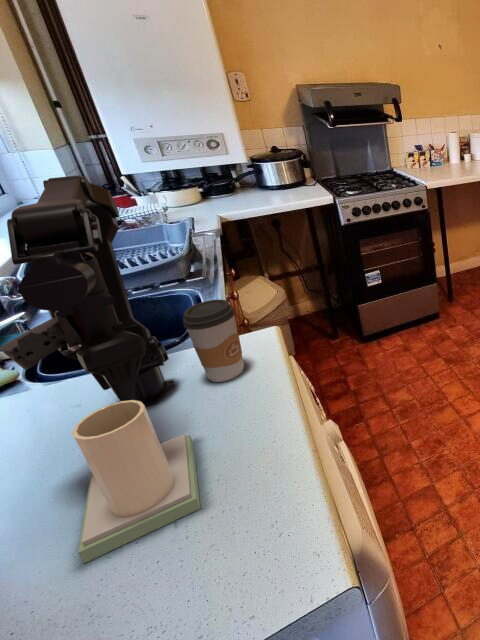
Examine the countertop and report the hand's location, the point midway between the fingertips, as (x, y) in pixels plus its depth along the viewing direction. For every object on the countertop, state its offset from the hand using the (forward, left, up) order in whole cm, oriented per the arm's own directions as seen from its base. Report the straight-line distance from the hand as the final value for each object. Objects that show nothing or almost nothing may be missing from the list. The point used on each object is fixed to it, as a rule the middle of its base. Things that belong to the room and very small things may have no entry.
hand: (117, 395), depth 64 cm
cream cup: (+10, +6, -10) cm, 15 cm away
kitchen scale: (+7, +4, -12) cm, 15 cm away
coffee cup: (-22, +2, -13) cm, 25 cm away
